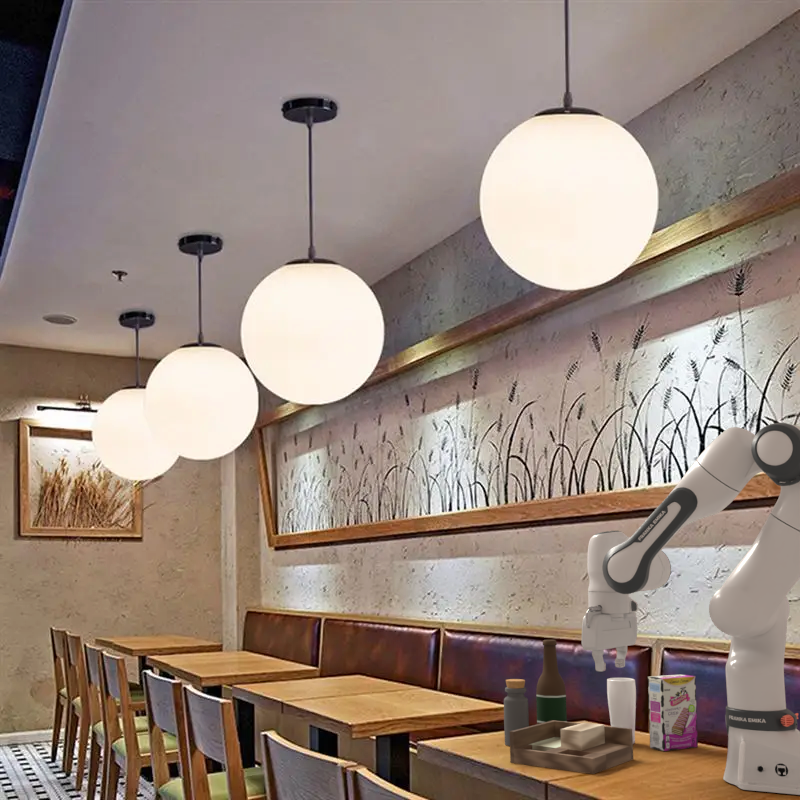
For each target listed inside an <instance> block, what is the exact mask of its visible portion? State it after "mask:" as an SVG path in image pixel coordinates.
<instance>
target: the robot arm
mask: <svg viewBox="0 0 800 800" xmlns="http://www.w3.org/2000/svg"><path fill="white" fill-rule="evenodd" d="M760 473H764V474H765V475H766V476H767V477H768V478H769V479H770V480H771V481H772V482H773V484H775V485H777V486H778V487H780V492H779V495H778V499H777V501H776V503H775V504H774V505H773V507H772V509H771V511H770V513H769V515H768V517H767V518H766V520H765V522H764V524H763V525H762V527H761V529H760V531H759V533H758V534H757V536H756V538H755V540H754V542H753V543H752V544H751V546H750V548H749V549H748V551H746V554H745V555H744V556H743V557H742V558H741V560H740V561H739V562H738V564H736V566H735V567H734V569H733V570H732V571H731V573H730V574H729V576H728V577H727V578H726V579H725V581H724V582H723V584H722V585H721V587H720V588H718V589H717V591H716V592H714V594H713V595H712V596H711V598H710V601H709V605H708V613H709V617H710V619H711V621H712V623H713V624H714V626H715V628H717V629H718V630H719V631H720V632H722V633H724V634H726V635H728V636H730V637H731V639H730V648H729V652H728V658H727V660H726V662H725V663H726V664H725V682H726V685H725V686H726V698H727V705H726V706H725V715H724V717H725V728H726V734H727V736H728V737H727V756H726V763H725V768H724V773H723V777H722V779H723V781H725V782H727V783H729V784H731V785H734V786H736V787H738V788H739V789H741V790H744V791H754V792H755V791H756V792H765V793H766V792H767V793H777V794H787V795H797V796H800V730H799V729H797V728H798V720H799V713H798V712H796V713H794V712H793V711H792V710H790V709H789V708H787V703H786V688H785V687H786V685H785V673H784V672H785V656H786V655H785V654H786V653H785V652H786V643H787V633H788V632H787V630H788V627H787V626H788V620H789V615H790V610H791V608H790V602H789V599H788V597H787V595H788V594H789V592H790V591H791V590H792V588H793V587H794V586H796V584H797V583H798V581H799V580H800V426H798V425H795V424H790V423H787V422H775V423H771V424H768V425H766V426H763V427H762V428H761V429H760V430H758V431H757V432H756V434H754V433H753V432H751V430H748V429H745V428H743V427H738V426H731V427H729V428H727V429H725V430H724V431H723V432H721V433H720V434H719V435H718V436H717V437H716V438H714V439H713V440H712V441H711V442H710V443H709V444H708V445H707V446H706V448H705V449H704V450H703V451H702V452H701V453H700V454H699V456H698V457H697V458H696V459H695V460H694V462H693V463H692V465H691V466H690V467H688V470H687V471H686V473H685V474H684V475H683V477H682V478H681V479H680V480H679V482H678V483H677V484H676V485H675V486H674V488H673V489H672V490H671V492H669V494H668V495H667V496H666V497H665V499H663V500H662V502H661V503H660V504H658V506H657V507H656V508H655V509H654V511H653V512H652V513H651V514H649V516H648V517H647V519H645V521H644V522H643V523H642V524H641V525H640V526H639V528H637V529H636V530H635V532H634V533H633V534H632V535H631V536H630V537H629V536H627V534H625V533H624V532H623V531H622V530H609V531H608V530H607V531H602V532H598V533H595V534H593V535H592V536H591V537H590V539H589V541H588V544H587V545H588V546H587V554H586V555H587V557H586V558H587V561H586V563H587V571H586V572H587V575H588V578H589V584H588V587H587V591H588V592H587V596H588V597H587V598H588V599H587V601H588V603H587V604H588V605H587V606H588V608H587V611H586V612H585V614H584V616H583V618H582V621H581V623H582V625H581V647H582V649H583V650H584V651H591V656H592V658H593V661H594V663H595V664H594V665H595V666H594V667H595V671H596V672H605V671H606V670H607V668H606V666H607V665H606V662H605V661H604V660H605V659H604V657H603V655H605V652H604V650H610V649H615V650H616V658H614V666H615V668H624V667H626V657H627V654H628V646H634V645H636V642H637V638H638V617H637V614H636V613H638V611H639V605H638V602H637V601H635V600H634V599H632V598H631V596H630V594H634V593H638V592H646V591H654V590H657V589H659V588H663V587H664V586H665V585H666V584H667V583H668V581H669V580H670V576H671V573H672V565H671V561H670V559H669V557H668V555H667V553H665V552H664V551H663V549H665V547H666V546H667V544H669V543H670V542H671V540H672V539H673V538H674V537H675V535H677V533H679V532H680V531H681V530H682V529H683V528H684V527H686V526H688V525H689V524H692V523H695V522H696V521H700V520H702V519H706V518H709V517H712V516H716V515H717V514H720V513H721V512H722V511H723V510H724V509H726V508H727V507H728V506H729V505H730V504H731V503H733V501H734V500H736V499H737V496H739V495H740V493H741V492H742V490H743V489H744V488H745V487H746V485H747V484H748V483H749V482H750V481H751V479H752V478H754V477H755V476H756V475H758V474H760Z"/></svg>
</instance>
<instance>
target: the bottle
mask: <svg viewBox="0 0 800 800" xmlns="http://www.w3.org/2000/svg"><path fill="white" fill-rule="evenodd" d="M505 684H506V687H505V688H504V692H505V693H507V696H505V697H504V698H503V724H504V725H503V726H504V728H503V729H504V732H503V733H504V745H505V746H507V745H508V746H507V747H510V731H513V730H517V729H521V728H525V727H529V726H530V723H529V720H530V719H529V699H528V697H526V696H525V693H526V692H527V687H525V686H526V685H525V684H526V680H525V679H520V678H510V679H505Z"/></svg>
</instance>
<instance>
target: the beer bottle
mask: <svg viewBox="0 0 800 800" xmlns="http://www.w3.org/2000/svg"><path fill="white" fill-rule="evenodd" d="M557 645H558V643H557V640H556V639H544V640H542V646H543V654H542V655H543V658H542V660H543V662H542V673H541V674H540V676H539V678H538V681H537V684H536V692H535V693H536V697H535V698H536V701H535V702H536V724H540V723H544V722H548V721H552V720H555V721H564V722H568V720H567V692H566V691H567V690H566V684H565V681H564V680H563V678H562V676H561V674H560V673H559V667H558V656H557Z"/></svg>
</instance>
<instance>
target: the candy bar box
mask: <svg viewBox="0 0 800 800" xmlns="http://www.w3.org/2000/svg"><path fill="white" fill-rule="evenodd" d="M696 682H697V681H696V675H689V674H668V675H667V674H666V675H651V676H647V683H648V684H647V686H648V688H647V689H648V690H647V691H648V693H647V694H648V721H649V722H648V723H649V725H648V726H649V747H650V749H653V750H657V751H660V752H667V751H669V752H670V751H678V750H685V749H691V748H693V749H694V748H698V746H699V745H698V744H699V743H698V742H699V740H698V715H697V712H698V711H697V690H696V689H697V686H696Z"/></svg>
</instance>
